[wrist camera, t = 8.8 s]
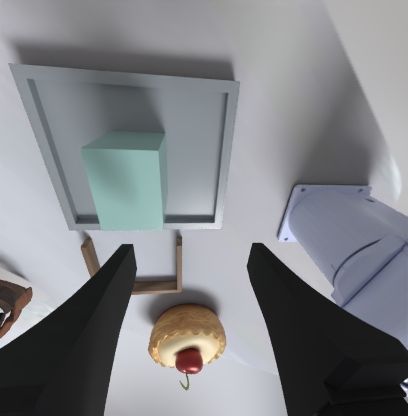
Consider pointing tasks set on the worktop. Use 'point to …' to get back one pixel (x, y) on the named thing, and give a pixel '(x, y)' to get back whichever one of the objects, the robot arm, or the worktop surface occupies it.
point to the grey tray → (133, 122)
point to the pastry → (187, 338)
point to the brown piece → (12, 303)
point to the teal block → (128, 179)
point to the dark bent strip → (138, 287)
